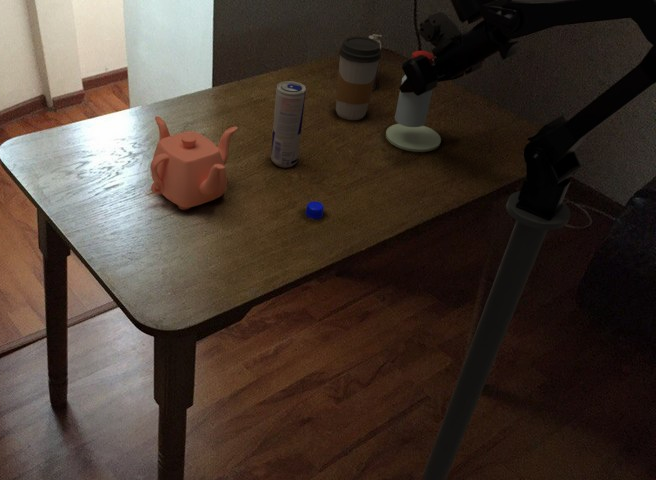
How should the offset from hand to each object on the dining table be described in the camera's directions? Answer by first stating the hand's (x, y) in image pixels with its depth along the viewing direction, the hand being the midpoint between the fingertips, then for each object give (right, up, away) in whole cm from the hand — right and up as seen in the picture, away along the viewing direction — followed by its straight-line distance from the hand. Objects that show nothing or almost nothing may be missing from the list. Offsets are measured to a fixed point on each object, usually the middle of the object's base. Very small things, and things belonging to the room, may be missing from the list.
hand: (410, 85), depth 134 cm
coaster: (+2, -8, +8) cm, 11 cm away
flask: (-4, +9, +27) cm, 29 cm away
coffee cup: (-10, -2, +14) cm, 17 cm away
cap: (+1, +2, -3) cm, 3 cm away
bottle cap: (-20, -26, -15) cm, 36 cm away
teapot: (-40, -22, -12) cm, 47 cm away
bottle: (+1, -6, +4) cm, 7 cm away
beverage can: (-24, -15, -2) cm, 29 cm away
